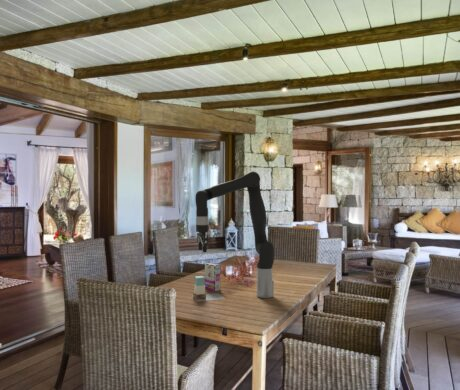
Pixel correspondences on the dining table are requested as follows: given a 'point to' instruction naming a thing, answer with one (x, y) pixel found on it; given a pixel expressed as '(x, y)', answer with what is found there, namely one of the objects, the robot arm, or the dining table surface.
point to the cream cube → (199, 289)
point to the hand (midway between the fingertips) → (202, 251)
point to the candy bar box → (212, 276)
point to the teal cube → (199, 280)
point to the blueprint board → (212, 297)
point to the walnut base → (199, 296)
